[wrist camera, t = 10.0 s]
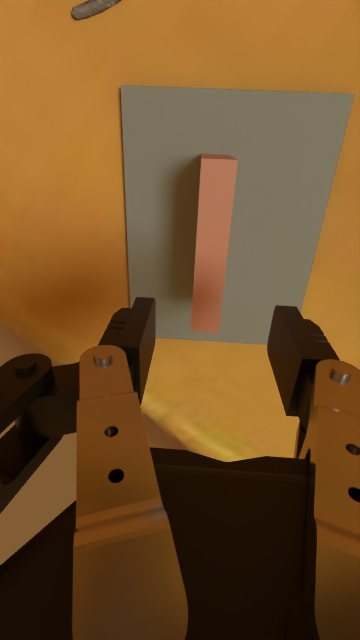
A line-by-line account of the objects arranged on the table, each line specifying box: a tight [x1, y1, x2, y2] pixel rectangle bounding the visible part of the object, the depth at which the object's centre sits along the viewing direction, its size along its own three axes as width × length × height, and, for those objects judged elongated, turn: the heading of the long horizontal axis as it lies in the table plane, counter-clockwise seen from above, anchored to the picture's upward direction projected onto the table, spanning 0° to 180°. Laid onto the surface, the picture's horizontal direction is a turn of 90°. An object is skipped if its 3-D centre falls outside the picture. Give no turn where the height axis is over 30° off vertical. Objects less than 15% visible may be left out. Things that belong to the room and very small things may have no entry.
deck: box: [191, 154, 238, 333], centre depth 21 cm, size 10×2×6 cm, turn 178°
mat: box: [121, 85, 354, 345], centre depth 24 cm, size 18×14×1 cm
